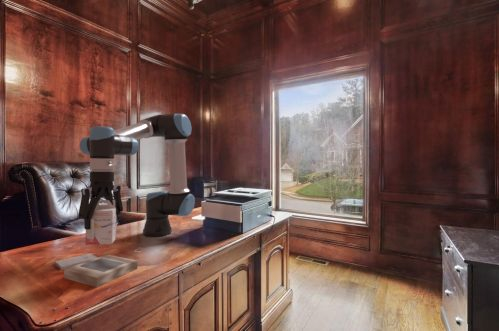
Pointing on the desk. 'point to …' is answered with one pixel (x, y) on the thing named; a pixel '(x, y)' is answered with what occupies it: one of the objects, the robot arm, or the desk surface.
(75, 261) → the external hard drive
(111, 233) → the ink cartridge box
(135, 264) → the ash base block
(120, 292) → the desk surface
